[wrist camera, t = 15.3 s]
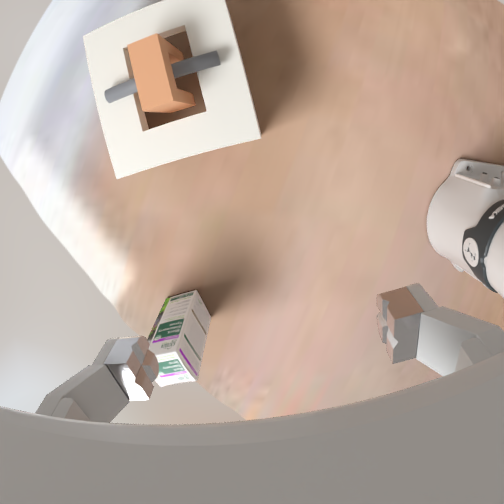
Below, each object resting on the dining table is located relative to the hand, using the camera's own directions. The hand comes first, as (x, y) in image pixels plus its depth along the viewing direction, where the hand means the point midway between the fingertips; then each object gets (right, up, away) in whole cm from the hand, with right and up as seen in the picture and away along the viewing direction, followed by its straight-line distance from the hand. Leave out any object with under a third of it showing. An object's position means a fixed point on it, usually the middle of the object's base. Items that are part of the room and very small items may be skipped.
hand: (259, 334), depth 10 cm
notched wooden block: (-9, +22, +22) cm, 32 cm away
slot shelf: (-9, +24, +26) cm, 37 cm away
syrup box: (-10, -6, +39) cm, 41 cm away
